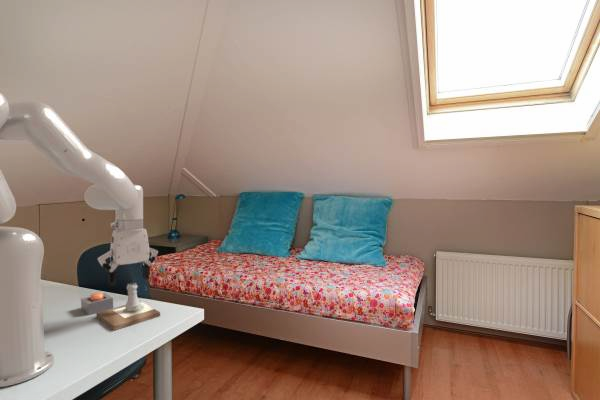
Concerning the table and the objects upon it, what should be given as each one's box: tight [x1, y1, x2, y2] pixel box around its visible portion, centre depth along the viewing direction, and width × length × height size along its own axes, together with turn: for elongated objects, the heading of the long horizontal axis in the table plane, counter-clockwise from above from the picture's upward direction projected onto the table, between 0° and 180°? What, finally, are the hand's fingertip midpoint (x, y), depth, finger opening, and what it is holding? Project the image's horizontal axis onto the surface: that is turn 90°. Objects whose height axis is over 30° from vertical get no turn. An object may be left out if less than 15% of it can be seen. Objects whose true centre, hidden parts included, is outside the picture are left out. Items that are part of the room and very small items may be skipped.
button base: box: [80, 292, 114, 316], centre depth 110 cm, size 7×7×3 cm
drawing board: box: [95, 300, 161, 331], centre depth 104 cm, size 13×14×1 cm
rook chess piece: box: [125, 282, 141, 312], centre depth 105 cm, size 4×4×8 cm
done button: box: [89, 292, 104, 302], centre depth 110 cm, size 4×4×2 cm
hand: (129, 281), depth 104 cm, fingers open, 9 cm apart
